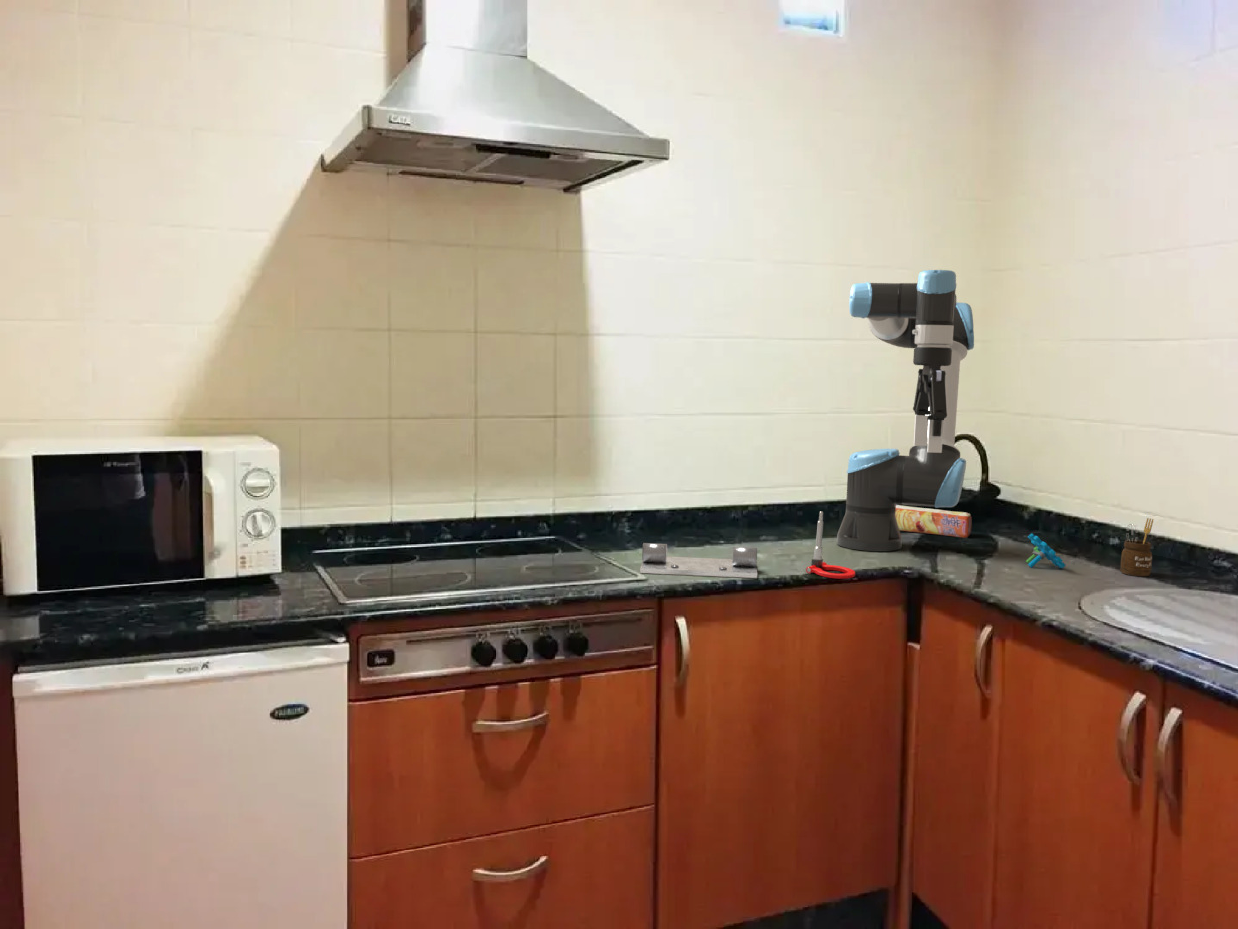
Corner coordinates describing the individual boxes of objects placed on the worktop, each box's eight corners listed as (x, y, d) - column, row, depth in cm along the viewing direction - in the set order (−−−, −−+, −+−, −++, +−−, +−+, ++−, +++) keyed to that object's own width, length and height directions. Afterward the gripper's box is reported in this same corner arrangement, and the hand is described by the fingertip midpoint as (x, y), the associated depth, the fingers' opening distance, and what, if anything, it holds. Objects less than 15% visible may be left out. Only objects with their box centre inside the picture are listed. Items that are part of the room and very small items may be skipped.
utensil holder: (1113, 572, 224) (1118, 517, 222) (1134, 570, 226) (1139, 516, 225) (1136, 577, 218) (1141, 522, 217) (1157, 575, 221) (1162, 520, 219)
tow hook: (861, 576, 216) (822, 567, 222) (867, 516, 214) (827, 508, 220) (842, 583, 210) (803, 573, 216) (848, 521, 208) (808, 513, 214)
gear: (1073, 566, 220) (1039, 532, 221) (1052, 585, 221) (1019, 550, 222) (1058, 562, 231) (1026, 530, 232) (1038, 580, 232) (1006, 547, 233)
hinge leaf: (644, 560, 225) (645, 537, 225) (755, 564, 223) (756, 542, 222) (640, 573, 212) (640, 549, 212) (757, 578, 210) (758, 554, 209)
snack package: (971, 535, 265) (973, 509, 264) (967, 539, 259) (968, 513, 258) (889, 527, 275) (890, 502, 274) (883, 530, 269) (884, 505, 268)
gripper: (902, 345, 224) (897, 442, 226) (927, 346, 199) (921, 454, 202) (937, 346, 223) (932, 443, 226) (967, 347, 199) (960, 456, 201)
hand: (927, 449), depth 214 cm, fingers open, 13 cm apart
